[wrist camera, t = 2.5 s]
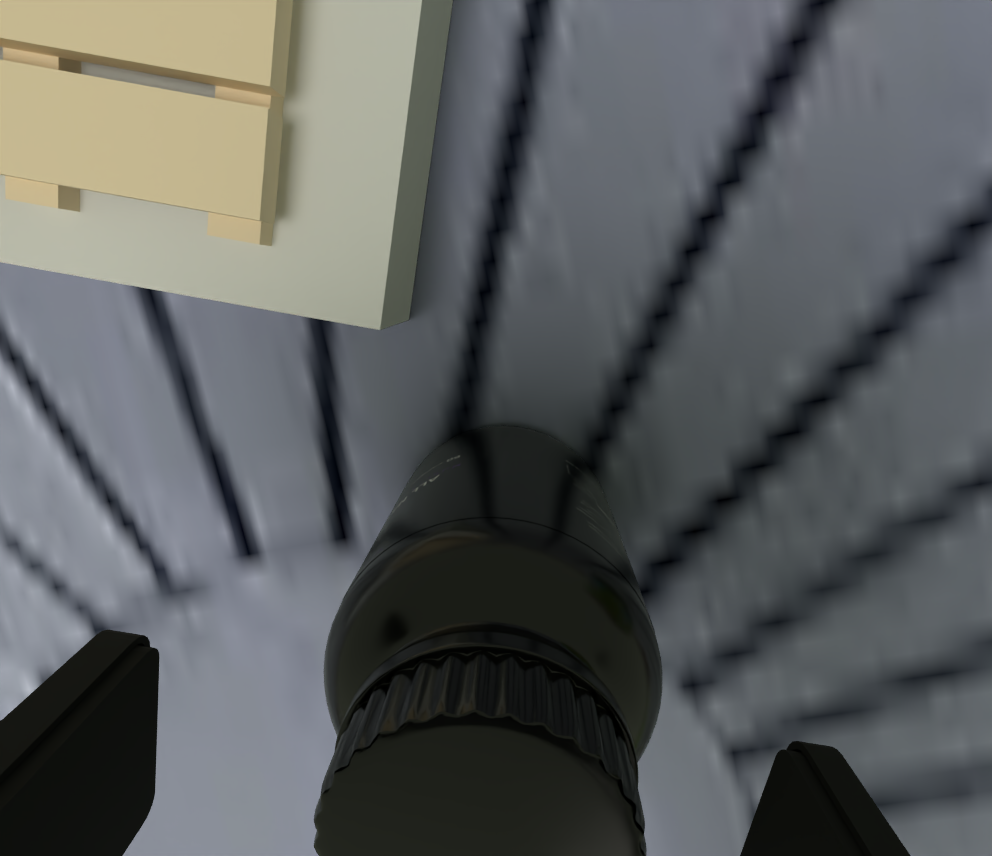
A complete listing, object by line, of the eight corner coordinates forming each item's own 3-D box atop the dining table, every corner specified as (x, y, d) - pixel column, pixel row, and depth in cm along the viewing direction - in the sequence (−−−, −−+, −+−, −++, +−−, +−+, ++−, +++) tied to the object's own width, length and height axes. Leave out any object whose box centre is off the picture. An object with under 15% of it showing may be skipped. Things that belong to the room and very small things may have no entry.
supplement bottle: (401, 416, 19) (225, 616, 8) (615, 426, 19) (765, 647, 8) (399, 610, 21) (253, 1017, 9) (598, 621, 21) (698, 1050, 9)
